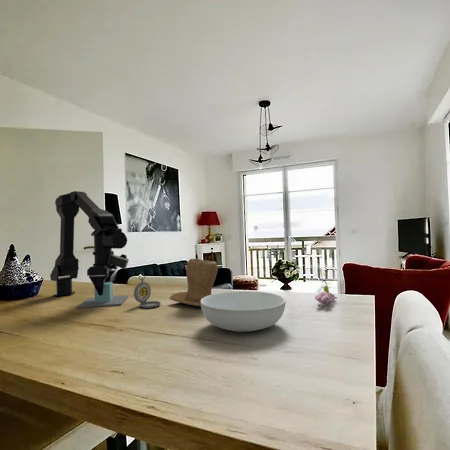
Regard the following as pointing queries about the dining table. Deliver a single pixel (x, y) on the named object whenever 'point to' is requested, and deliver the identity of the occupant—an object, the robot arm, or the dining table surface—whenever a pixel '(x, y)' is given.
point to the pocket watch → (141, 289)
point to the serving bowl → (243, 310)
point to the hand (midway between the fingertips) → (104, 292)
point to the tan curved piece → (197, 282)
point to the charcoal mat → (114, 302)
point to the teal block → (105, 293)
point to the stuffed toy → (325, 296)
